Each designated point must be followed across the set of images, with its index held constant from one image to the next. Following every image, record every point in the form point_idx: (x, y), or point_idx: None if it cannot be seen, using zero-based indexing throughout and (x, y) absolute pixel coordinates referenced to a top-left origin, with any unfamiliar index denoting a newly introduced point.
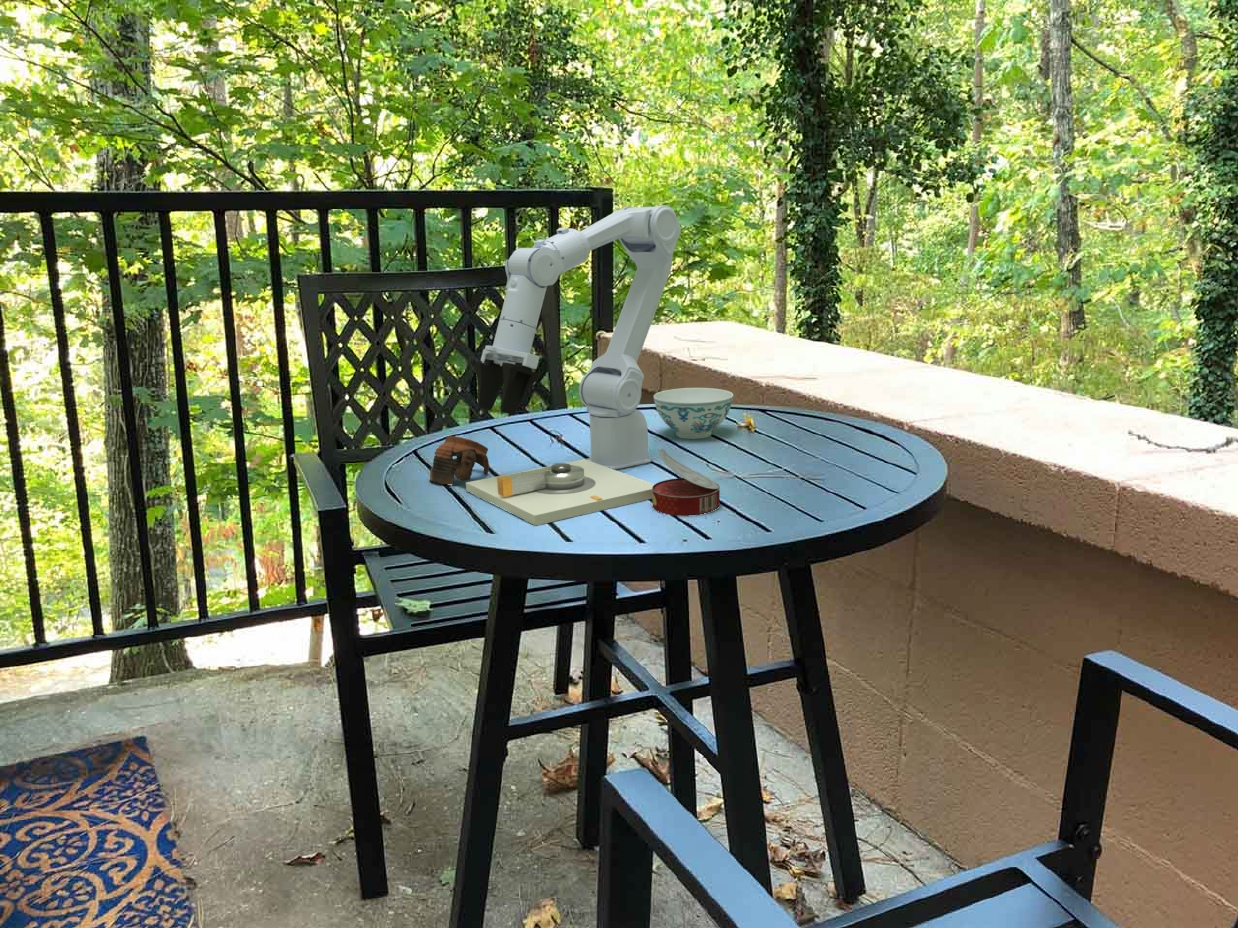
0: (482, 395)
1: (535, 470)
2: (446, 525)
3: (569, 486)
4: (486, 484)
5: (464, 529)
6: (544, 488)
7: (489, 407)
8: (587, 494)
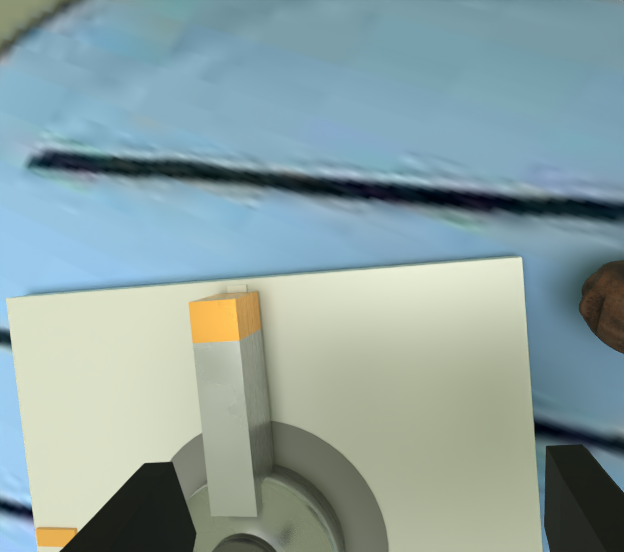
0: (586, 540)
1: (242, 471)
2: (169, 60)
3: None
4: (438, 317)
5: (104, 99)
6: None
7: (549, 532)
8: None
